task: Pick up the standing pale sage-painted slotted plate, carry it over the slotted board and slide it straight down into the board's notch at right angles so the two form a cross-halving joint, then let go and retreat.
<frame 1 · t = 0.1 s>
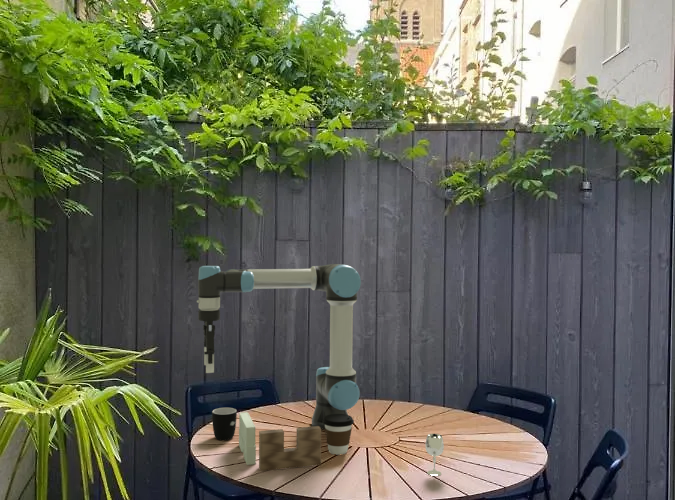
hand: (208, 368, 218), 28 cm above the table, fingers open, 13 cm apart
slotted board: (290, 466, 200), on the table
wineglass: (434, 473, 195), on the table
sage plate: (246, 454, 211), on the table
mug: (225, 437, 229), on the table
coffee cup: (338, 452, 214), on the table
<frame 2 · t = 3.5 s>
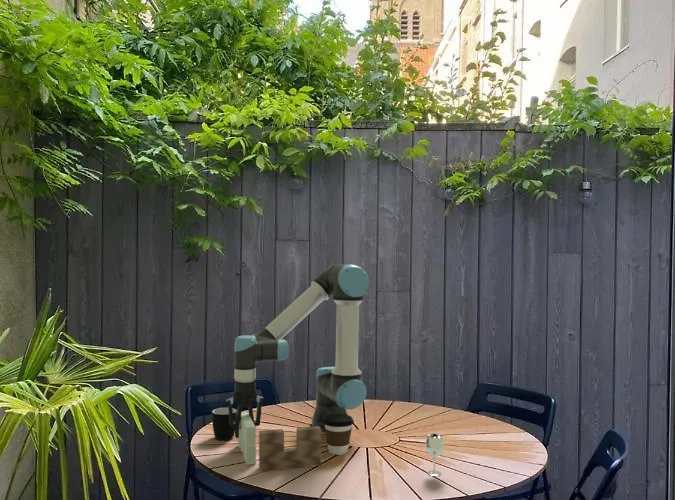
hand: (244, 445, 216), 1 cm above the table, fingers closed on sage plate, 3 cm apart
sage plate: (246, 454, 211), on the table, touching gripper
everything else where it was.
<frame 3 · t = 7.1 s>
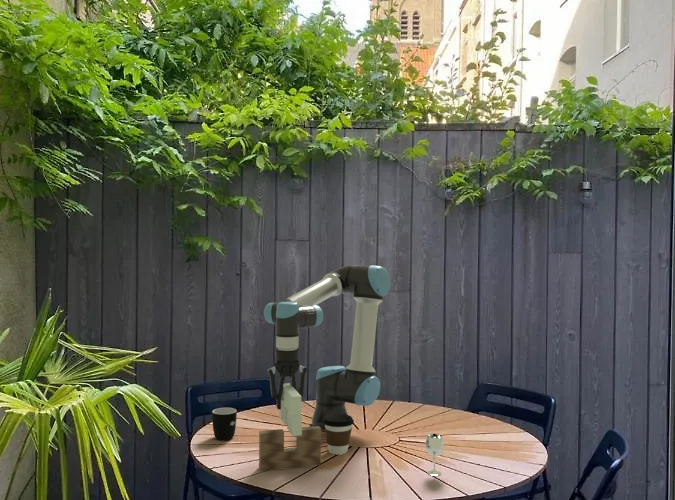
hand: (286, 418, 205), 14 cm above the table, fingers closed on sage plate, 3 cm apart
sage plate: (290, 426, 199), point 13 cm above the table, touching gripper
everything else where it was.
when the fingers open (3 cm above the table, at t = 10.6 s): sage plate drops 1 cm, on the table.
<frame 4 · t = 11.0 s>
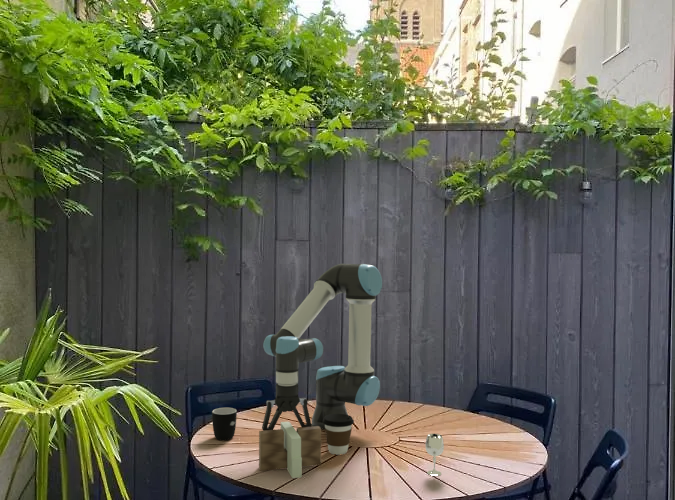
hand: (286, 450, 205), 4 cm above the table, fingers open, 9 cm apart
sage plate: (290, 466, 200), on the table
everything else where it was.
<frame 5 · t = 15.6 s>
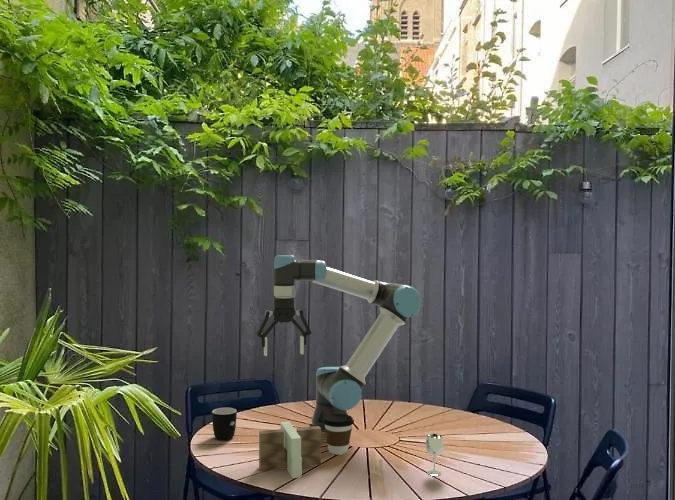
hand: (283, 354, 225), 32 cm above the table, fingers open, 13 cm apart
nothing on the table moved.
at the end: sage plate 0.1 cm off-centre on the slotted board, point 0.0 cm above the slotted board's base; sage plate tilted 0°; the gripper is holding nothing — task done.
